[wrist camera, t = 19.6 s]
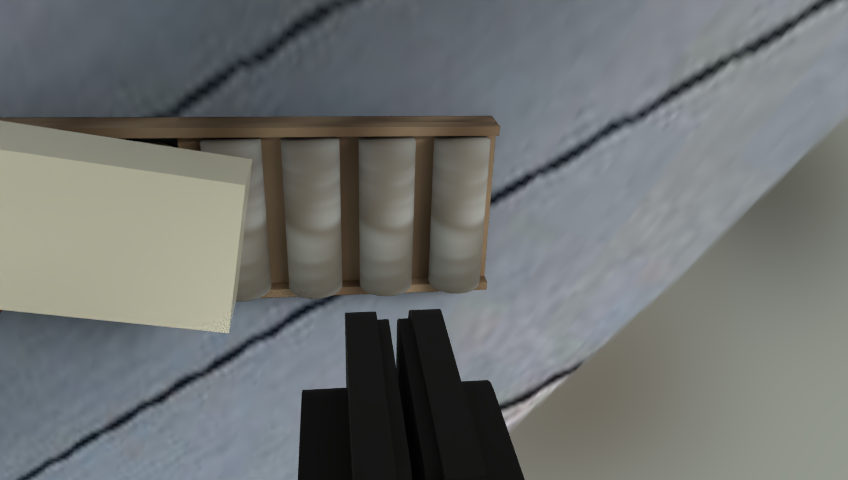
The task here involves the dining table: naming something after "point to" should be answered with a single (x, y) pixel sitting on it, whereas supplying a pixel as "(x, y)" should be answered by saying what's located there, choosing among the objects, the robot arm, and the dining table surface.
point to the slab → (119, 229)
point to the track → (344, 197)
